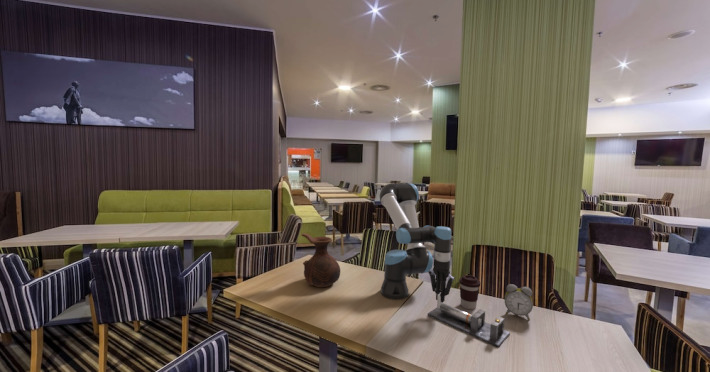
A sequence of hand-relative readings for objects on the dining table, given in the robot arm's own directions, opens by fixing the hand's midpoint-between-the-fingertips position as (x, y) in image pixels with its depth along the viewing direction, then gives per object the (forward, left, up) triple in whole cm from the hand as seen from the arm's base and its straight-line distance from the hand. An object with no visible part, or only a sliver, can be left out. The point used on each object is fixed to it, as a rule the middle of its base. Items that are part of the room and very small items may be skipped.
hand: (439, 307), depth 140 cm
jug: (-65, -22, -3) cm, 68 cm away
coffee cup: (+6, +17, -3) cm, 19 cm away
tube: (+10, 0, -2) cm, 10 cm away
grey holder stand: (+13, 0, -3) cm, 14 cm away
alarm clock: (+26, +26, -3) cm, 37 cm away
